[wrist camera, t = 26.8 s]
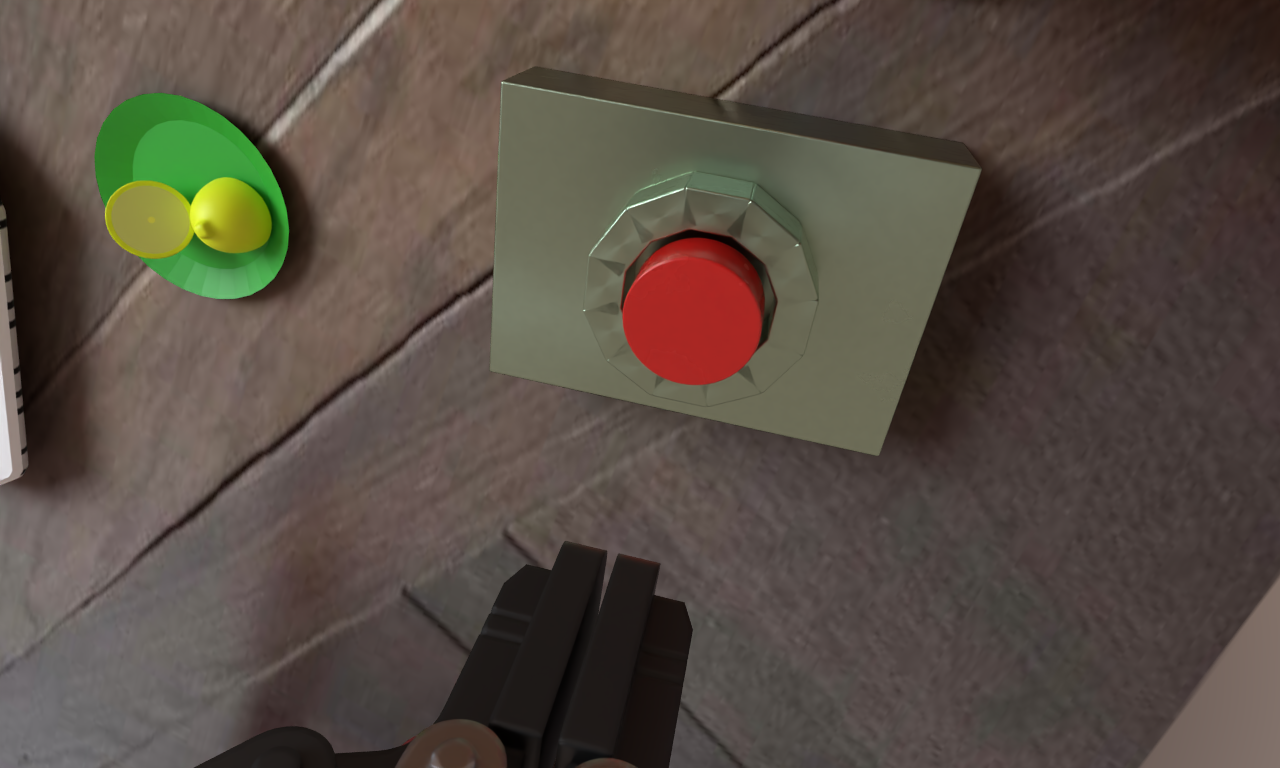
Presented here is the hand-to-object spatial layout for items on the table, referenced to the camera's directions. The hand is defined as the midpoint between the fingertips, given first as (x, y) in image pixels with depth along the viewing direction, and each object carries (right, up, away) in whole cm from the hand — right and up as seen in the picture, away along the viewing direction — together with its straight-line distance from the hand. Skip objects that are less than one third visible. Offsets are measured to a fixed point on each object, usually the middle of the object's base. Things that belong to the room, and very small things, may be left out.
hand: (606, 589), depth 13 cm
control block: (+3, +8, +15) cm, 17 cm away
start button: (+2, +6, +11) cm, 12 cm away
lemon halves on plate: (-16, +11, +18) cm, 26 cm away
